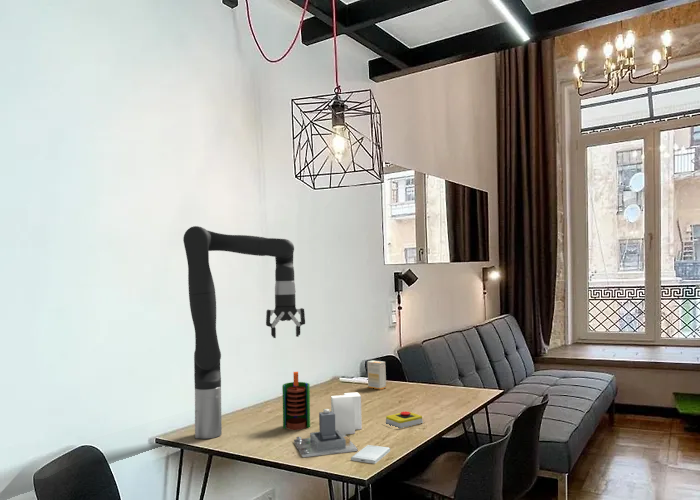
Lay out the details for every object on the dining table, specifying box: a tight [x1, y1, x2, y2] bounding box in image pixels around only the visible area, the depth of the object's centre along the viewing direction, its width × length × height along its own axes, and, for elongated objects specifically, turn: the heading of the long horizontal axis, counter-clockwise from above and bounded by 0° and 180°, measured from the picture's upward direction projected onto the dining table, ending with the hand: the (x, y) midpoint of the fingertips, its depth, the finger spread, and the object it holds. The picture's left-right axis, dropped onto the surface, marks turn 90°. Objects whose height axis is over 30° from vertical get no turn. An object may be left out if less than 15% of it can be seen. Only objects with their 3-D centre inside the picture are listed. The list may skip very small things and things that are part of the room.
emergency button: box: [385, 411, 424, 429], centre depth 203 cm, size 9×4×15 cm
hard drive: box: [350, 444, 391, 465], centre depth 169 cm, size 2×8×12 cm
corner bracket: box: [330, 391, 363, 435], centre depth 197 cm, size 11×11×12 cm
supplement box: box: [366, 359, 387, 391], centre depth 265 cm, size 8×5×13 cm, turn 46°
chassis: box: [293, 430, 359, 458], centre depth 178 cm, size 18×16×3 cm
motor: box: [281, 371, 311, 431], centre depth 202 cm, size 10×9×20 cm
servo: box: [318, 408, 336, 441], centre depth 179 cm, size 4×6×11 cm
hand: (285, 337), depth 198 cm, fingers open, 8 cm apart
